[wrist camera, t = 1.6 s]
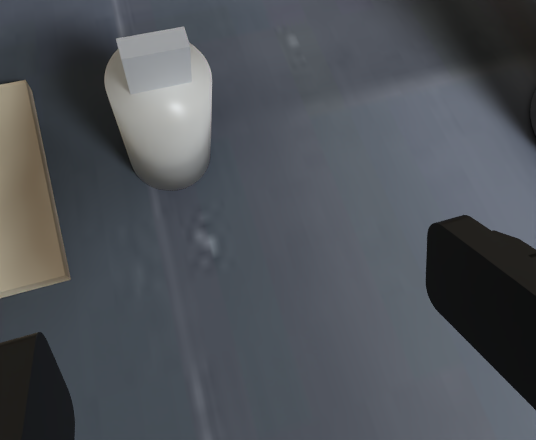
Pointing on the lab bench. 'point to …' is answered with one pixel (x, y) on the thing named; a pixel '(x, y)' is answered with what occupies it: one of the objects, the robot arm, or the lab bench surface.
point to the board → (26, 200)
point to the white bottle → (162, 106)
